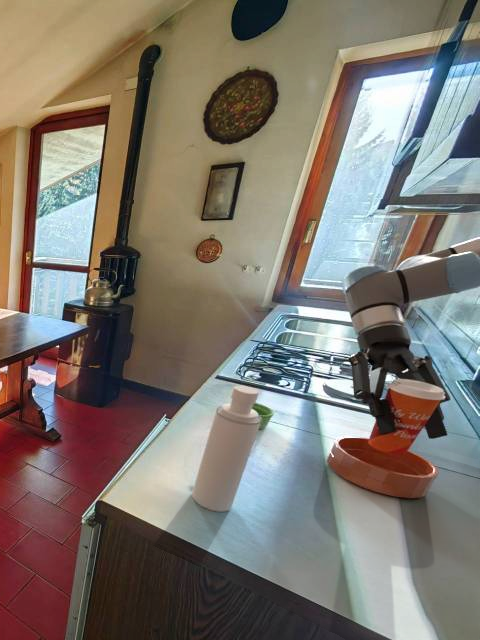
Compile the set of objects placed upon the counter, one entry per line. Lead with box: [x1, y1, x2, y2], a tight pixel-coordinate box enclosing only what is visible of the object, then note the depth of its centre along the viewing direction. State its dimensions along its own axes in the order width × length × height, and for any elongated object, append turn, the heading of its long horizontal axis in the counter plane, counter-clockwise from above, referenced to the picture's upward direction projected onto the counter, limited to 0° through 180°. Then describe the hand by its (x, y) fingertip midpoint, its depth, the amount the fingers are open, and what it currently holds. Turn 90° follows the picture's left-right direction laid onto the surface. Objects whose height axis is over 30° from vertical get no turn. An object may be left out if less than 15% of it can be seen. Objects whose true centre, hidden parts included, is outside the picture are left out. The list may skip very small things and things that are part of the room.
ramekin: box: [252, 402, 275, 430], centre depth 104 cm, size 9×9×4 cm
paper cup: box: [368, 378, 445, 455], centre depth 77 cm, size 8×8×14 cm
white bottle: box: [191, 385, 262, 513], centre depth 70 cm, size 7×7×25 cm
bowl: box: [326, 435, 439, 499], centre depth 82 cm, size 15×15×6 cm
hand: (412, 434), depth 75 cm, fingers closed on paper cup, 8 cm apart
